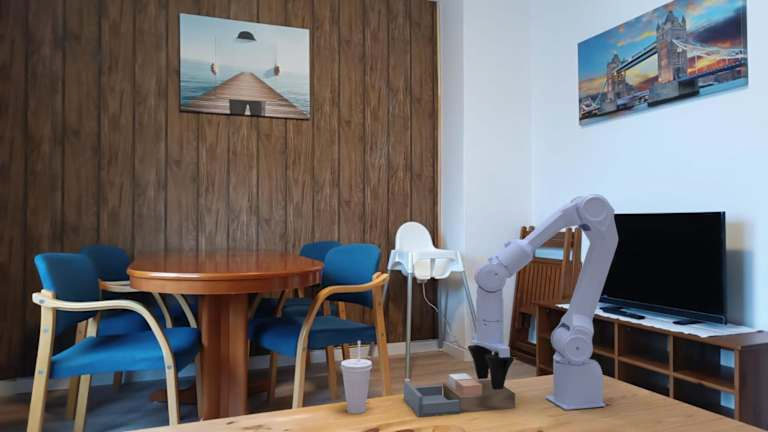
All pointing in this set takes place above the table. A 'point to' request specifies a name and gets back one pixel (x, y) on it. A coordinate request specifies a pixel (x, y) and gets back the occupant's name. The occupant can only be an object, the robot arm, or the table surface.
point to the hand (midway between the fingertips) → (489, 383)
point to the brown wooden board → (482, 398)
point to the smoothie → (356, 382)
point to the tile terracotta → (468, 387)
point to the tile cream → (457, 378)
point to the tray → (429, 400)
